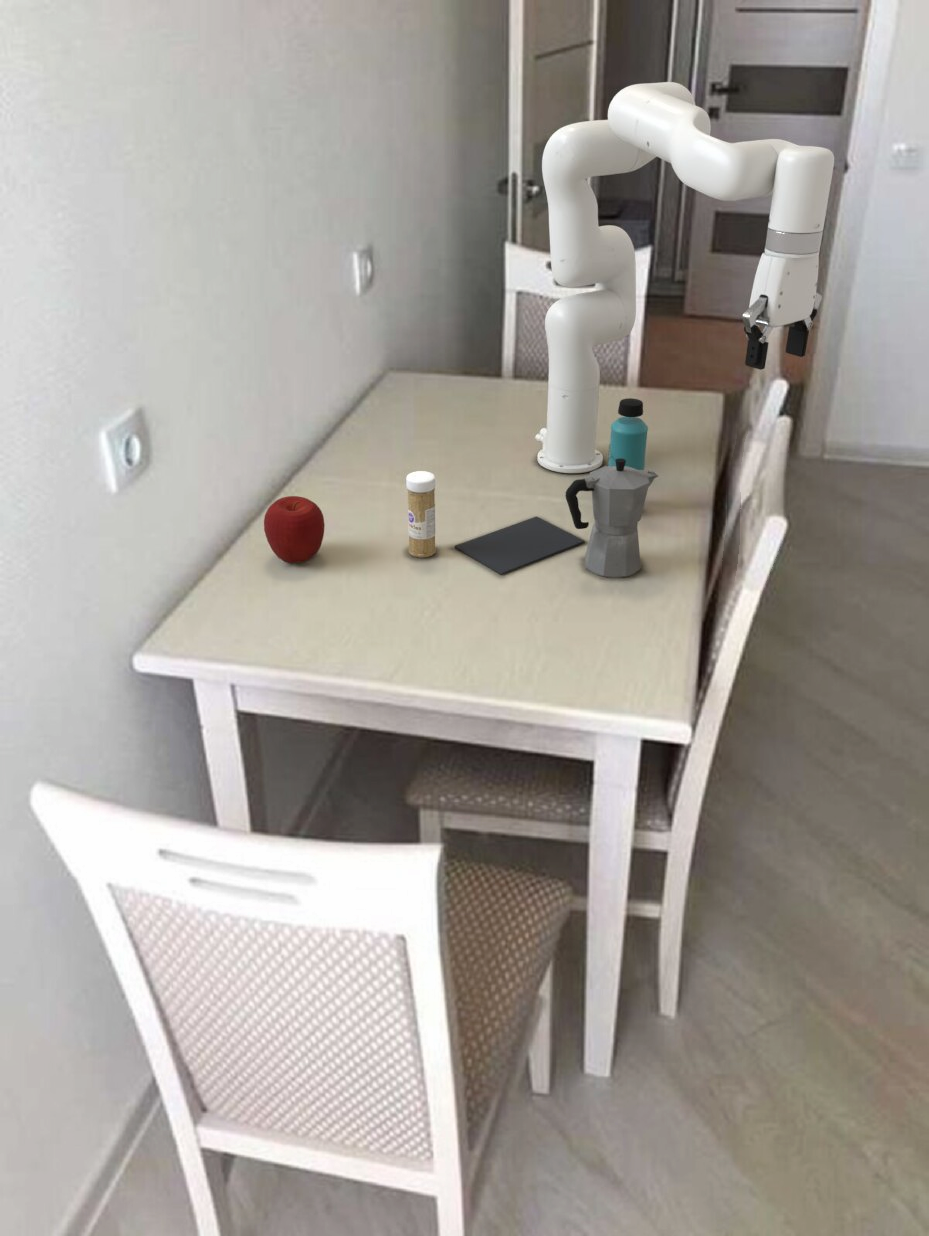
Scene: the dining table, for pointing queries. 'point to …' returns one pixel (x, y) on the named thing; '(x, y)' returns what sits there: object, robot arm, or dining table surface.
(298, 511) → the apple
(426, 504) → the sprinkles bottle
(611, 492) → the coffeepot
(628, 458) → the beverage bottle
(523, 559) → the mat
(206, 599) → the dining table surface
